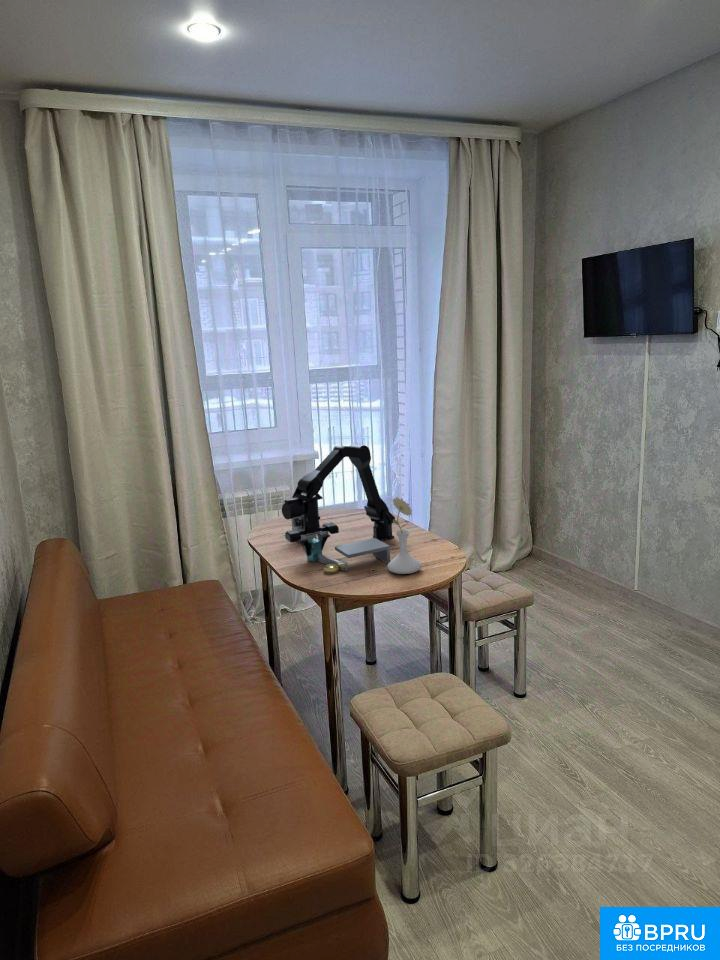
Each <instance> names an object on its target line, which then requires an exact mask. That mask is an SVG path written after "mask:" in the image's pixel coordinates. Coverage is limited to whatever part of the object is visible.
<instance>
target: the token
mask: <svg viewBox="0 0 720 960" xmlns="http://www.w3.org/2000/svg"><path fill="white" fill-rule="evenodd" d="M339 571H340V569H339V567H338V565H336V564H328V565H327V564H325V565H324V566H323V572H324V574H326V575H334V574H335V575H336V574H337V573H339Z"/></svg>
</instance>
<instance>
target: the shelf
mask: <svg viewBox="0 0 720 960" xmlns="http://www.w3.org/2000/svg"><path fill="white" fill-rule="evenodd" d="M334 550H335V551H336V552H338V553H339V554H341V555H342V556H343V557H346V558H347V559H352V558H356V557H360V556H361V557H362V556H366V555H370V554H372V556H374V557H375V558H378V559H380V560H381V561H382V562H385V563H386V564H389V562H390V561H391V546H390V545H389V544H387V543H385V542H383V541H382V540H378V539H376V538H375V537H373V538H369V539H365V540H364V539H363V540H360V541H359V540H358V541H353V542H349V543H345V544H341V545H336V546H335V545H334Z"/></svg>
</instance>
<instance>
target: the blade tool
mask: <svg viewBox="0 0 720 960" xmlns="http://www.w3.org/2000/svg"><path fill="white" fill-rule="evenodd" d="M308 547H309V556H307V555H306V560H307V561H309V562H313V563H315V562H319V563H322V564H325V565H328V564H336V565H338V567H339V570H341V571H344V572H348V571H349V568H348V563H347V562H344V561H340V560H338V559H335V558H332V557H329V556H327V555H323V550H322V548H321V541H320V540H318V538H316V539H311V540H308Z"/></svg>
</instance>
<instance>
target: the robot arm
mask: <svg viewBox="0 0 720 960" xmlns="http://www.w3.org/2000/svg"><path fill="white" fill-rule="evenodd" d="M345 458H348V459H349V461H350V462H351V463H352V465H353V466H354V467H355V468H356V469H357V473H358V475H359V479H360V481H361V484H362V488H363V490H364V494H365V497H366V499H367V501H366V502H367V503H366V505H364V506H363V507H364V510H365V515H366V516H367V517H368V518H369V519H370V521H371V522H373V527H372V531H373V532H372V533H373V534H372V537H373V538H376V539H378V540H380V541H384V540H390V539H395V535H393V526H392V525H393V524H394V523H393V519H395V520H396V517H395V516H394V515H393V513H391V512H390V509H389V507H388V506H387V503H386V502H385V501H384V500H383V499H382V498H381V496H380V493H379V490H378V487H377V483H376V481H375V477H374V475H373V471H372V468H371V466H370V464H371V461H372V455H371V451H370V448H369V446H368V445H364V444H357V443H352V444H350V445H347V446H346V445H340V444H339V445H336V446H334V447H333V449H332V450H331V452H329V454H328V455H326V457H325V458H324V459H323V460H322V461H321V462H320V464H319V465H317V467H316V468H315V469H314V470H312V471H311V472H309V473H307V474H305V475H304V476H303V477H301V478H300V479H299V480H298V482H297V486H296V489H295V490H294V493H293V494H292V498H290V499H284V501H283V504H282V506H281V514H282V516H283V517H284V519H286V520H291V519H292V518H294V519H293V525H294V527H299V529H302V530H304V531H300V532H298V531H297V530H292V529H291V530H287V531H286V532H285V533H284V536H285V537H284V539H285V540H287V541H288V542H290V543H296V542H298V543H300V544H301V546H302V549H303V551H304V553H305V555H306V557H307V556H309V547H308V540H307V539H306V536H308V535H313V534H317V540H320V541H321V548H322V551H323V549H324V547H325V545H326V543H327V540H328V538H331V535H335V534H338V533H340V530H339V526H338V525H337V524H335V523H334V522H326V523H323V524H322V527H321V526H320V520H321V516H320V513H319V500H323V499H324V498H323V496H322V495H320V494H319V492H320V491H321V489H322V487H323V486H324V483H325V479H326V478H327V477H328V476H330V474H331V473H332V471H334V470H335V468H336V467H337V466H338V465H339V464H340V463H341V462H342V461H343V460H344V459H345ZM300 516H302V517H301V518H302V519H301V520H299V518H296V517H300ZM329 533H330V534H329Z"/></svg>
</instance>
